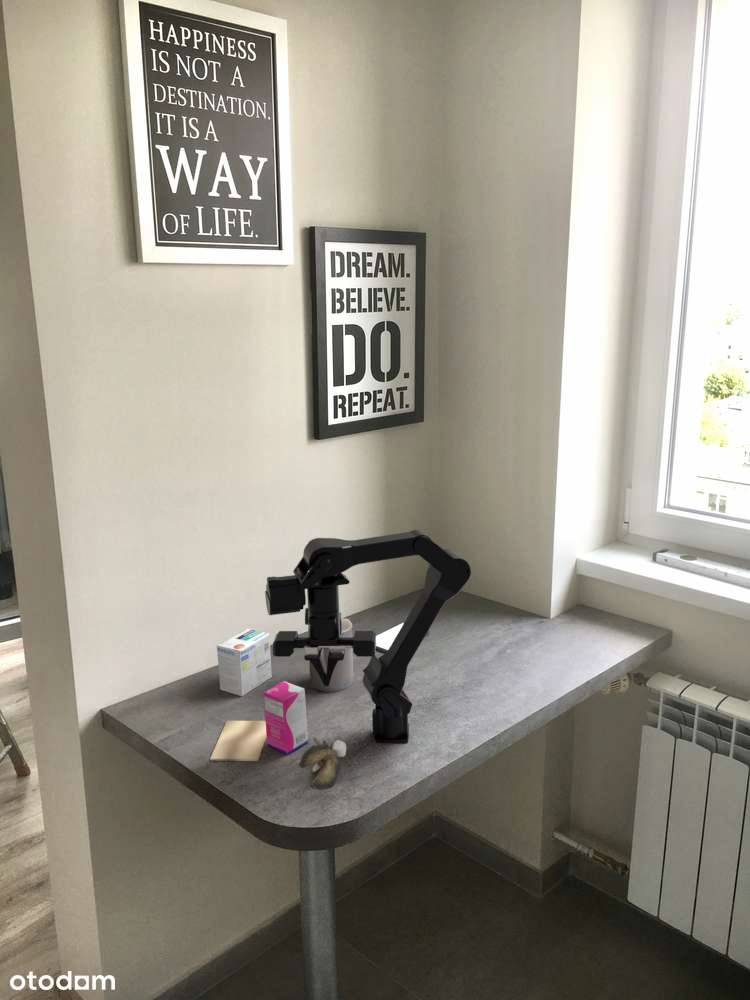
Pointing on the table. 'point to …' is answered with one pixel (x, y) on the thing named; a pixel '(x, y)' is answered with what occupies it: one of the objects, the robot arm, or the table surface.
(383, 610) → the table surface
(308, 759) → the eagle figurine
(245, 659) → the light bulb box
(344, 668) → the pillar candle
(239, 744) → the pale gold metal plate
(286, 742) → the supplement box
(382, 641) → the phone case
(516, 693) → the table surface
